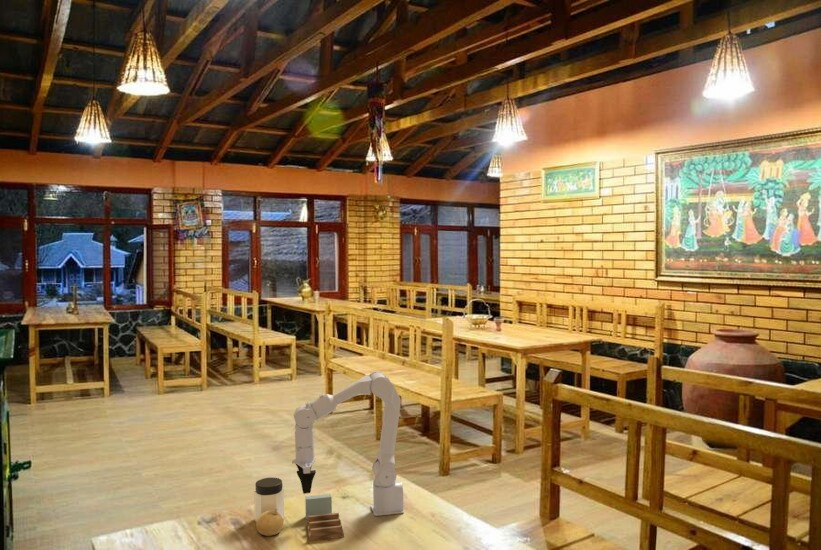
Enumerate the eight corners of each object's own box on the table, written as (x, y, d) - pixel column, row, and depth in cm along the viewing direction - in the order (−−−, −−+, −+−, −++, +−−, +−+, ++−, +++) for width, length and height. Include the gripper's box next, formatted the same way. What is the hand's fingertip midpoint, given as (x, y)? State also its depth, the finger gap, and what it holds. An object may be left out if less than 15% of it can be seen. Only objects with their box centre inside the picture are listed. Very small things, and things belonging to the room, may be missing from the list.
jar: (288, 520, 200) (287, 482, 200) (264, 528, 195) (263, 489, 194) (274, 511, 207) (274, 474, 206) (251, 518, 202) (250, 481, 201)
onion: (256, 540, 187) (256, 516, 187) (255, 528, 195) (255, 505, 195) (284, 537, 190) (284, 513, 189) (282, 525, 197) (282, 502, 197)
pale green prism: (331, 514, 205) (330, 493, 205) (331, 517, 203) (331, 496, 202) (305, 516, 203) (305, 496, 203) (306, 520, 201) (305, 499, 201)
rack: (339, 521, 199) (339, 512, 199) (344, 536, 189) (343, 526, 189) (307, 525, 197) (306, 515, 197) (309, 540, 187) (309, 530, 187)
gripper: (290, 439, 207) (291, 481, 207) (292, 454, 193) (294, 498, 193) (312, 437, 208) (313, 478, 209) (316, 451, 194) (317, 496, 195)
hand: (305, 488), depth 201 cm, fingers open, 7 cm apart
